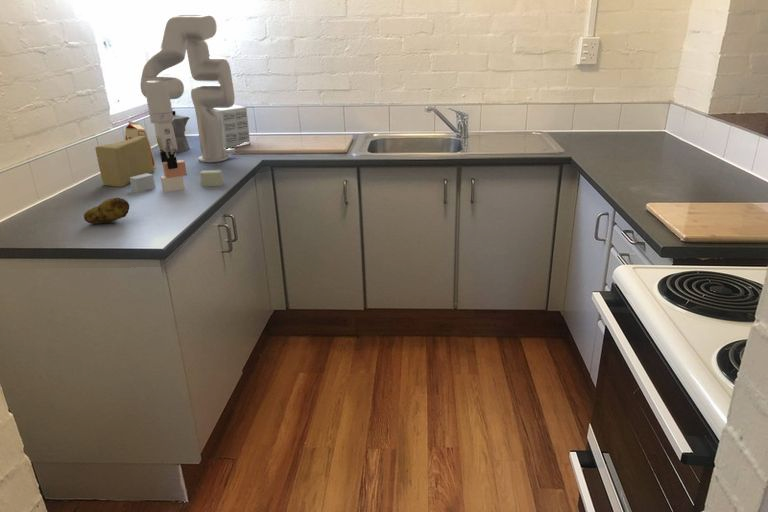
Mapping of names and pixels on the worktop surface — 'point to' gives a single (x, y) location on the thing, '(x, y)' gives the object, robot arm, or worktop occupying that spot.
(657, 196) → the worktop surface
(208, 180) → the sage brick
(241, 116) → the supplement box
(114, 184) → the cheese
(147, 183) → the slate brick
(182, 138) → the coffeepot
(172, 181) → the cream brick
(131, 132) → the milk carton
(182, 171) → the terracotta brick
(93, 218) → the potato
